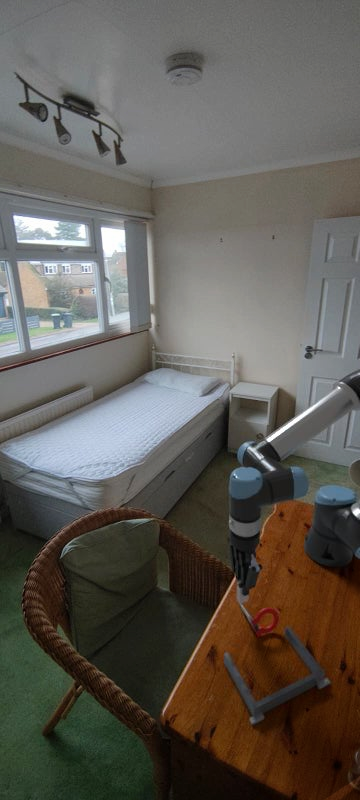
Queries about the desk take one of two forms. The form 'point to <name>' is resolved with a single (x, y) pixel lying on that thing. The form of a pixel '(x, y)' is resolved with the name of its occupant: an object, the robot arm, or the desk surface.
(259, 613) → the tow hook
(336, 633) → the desk surface
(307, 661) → the bracket
